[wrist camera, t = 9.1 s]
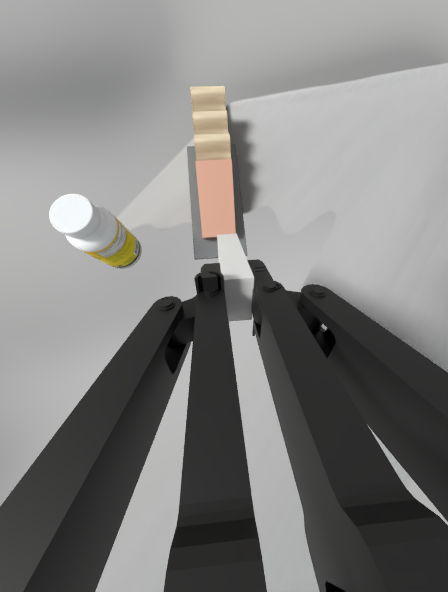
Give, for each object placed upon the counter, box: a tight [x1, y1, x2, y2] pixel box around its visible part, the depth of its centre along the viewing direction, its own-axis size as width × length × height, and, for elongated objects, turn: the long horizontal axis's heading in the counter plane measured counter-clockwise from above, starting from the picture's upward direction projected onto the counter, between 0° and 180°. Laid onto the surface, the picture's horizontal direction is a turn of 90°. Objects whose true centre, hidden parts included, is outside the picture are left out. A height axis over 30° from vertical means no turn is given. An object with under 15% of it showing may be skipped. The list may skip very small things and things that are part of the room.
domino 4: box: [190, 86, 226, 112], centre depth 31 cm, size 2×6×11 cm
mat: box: [187, 144, 247, 259], centre depth 32 cm, size 22×9×1 cm, turn 5°
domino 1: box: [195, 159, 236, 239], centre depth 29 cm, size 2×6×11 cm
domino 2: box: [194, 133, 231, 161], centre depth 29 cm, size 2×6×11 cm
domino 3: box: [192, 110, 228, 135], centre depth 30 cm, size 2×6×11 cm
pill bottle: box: [49, 194, 141, 269], centre depth 25 cm, size 6×6×11 cm
